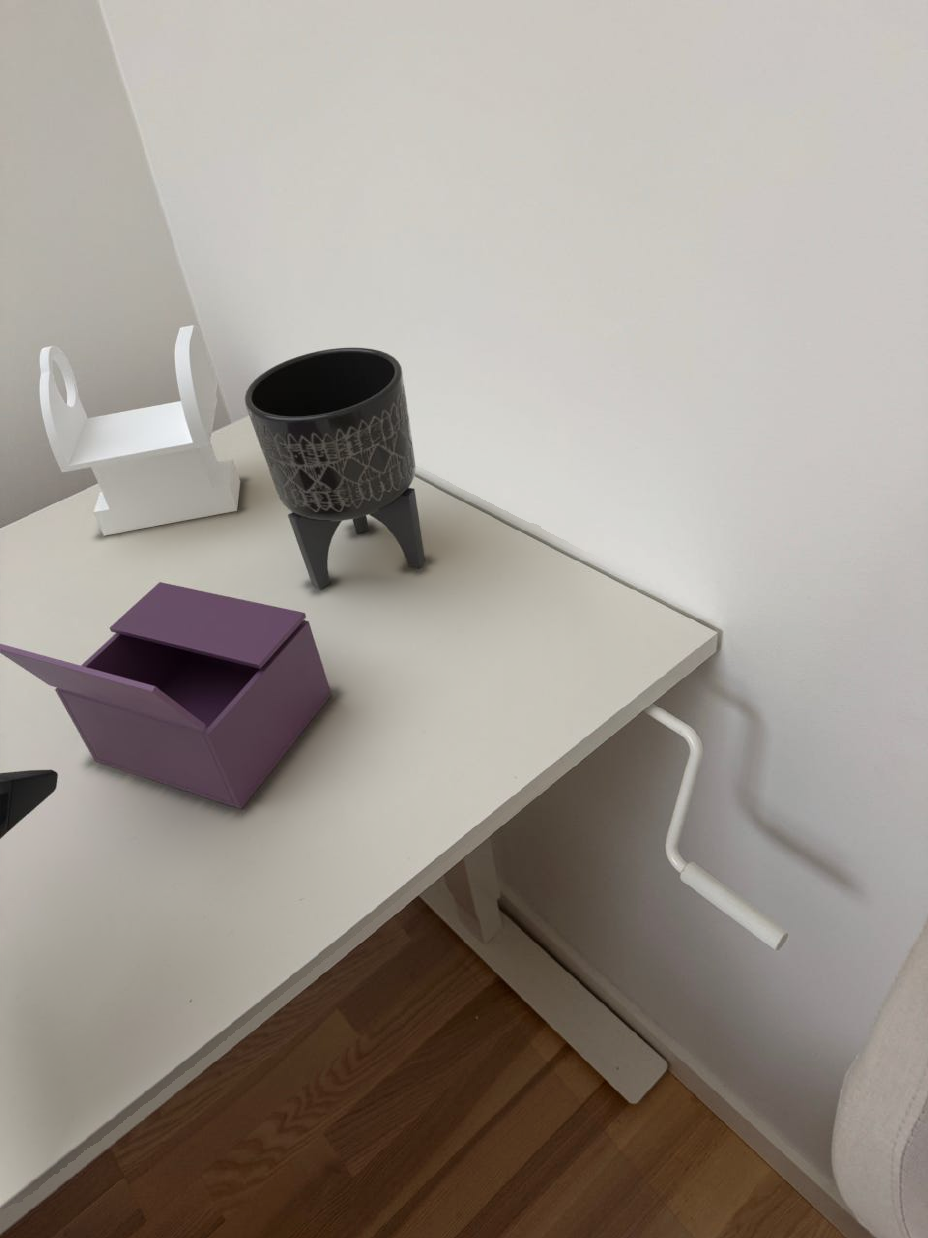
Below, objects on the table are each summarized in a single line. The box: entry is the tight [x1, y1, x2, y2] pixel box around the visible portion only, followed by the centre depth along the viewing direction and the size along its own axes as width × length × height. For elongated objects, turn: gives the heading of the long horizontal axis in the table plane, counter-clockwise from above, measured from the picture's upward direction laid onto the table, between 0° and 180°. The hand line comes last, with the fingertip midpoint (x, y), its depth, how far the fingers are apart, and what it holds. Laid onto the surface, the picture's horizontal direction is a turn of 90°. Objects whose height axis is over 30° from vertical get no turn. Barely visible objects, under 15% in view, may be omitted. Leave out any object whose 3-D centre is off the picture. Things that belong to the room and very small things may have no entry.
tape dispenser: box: [39, 324, 241, 537], centre depth 96 cm, size 14×13×18 cm
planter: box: [244, 346, 426, 590], centre depth 83 cm, size 13×13×18 cm
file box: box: [54, 581, 332, 810], centre depth 71 cm, size 12×14×8 cm
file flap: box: [0, 643, 205, 730], centre depth 62 cm, size 6×14×1 cm
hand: (5, 750), depth 53 cm, fingers open, 9 cm apart
